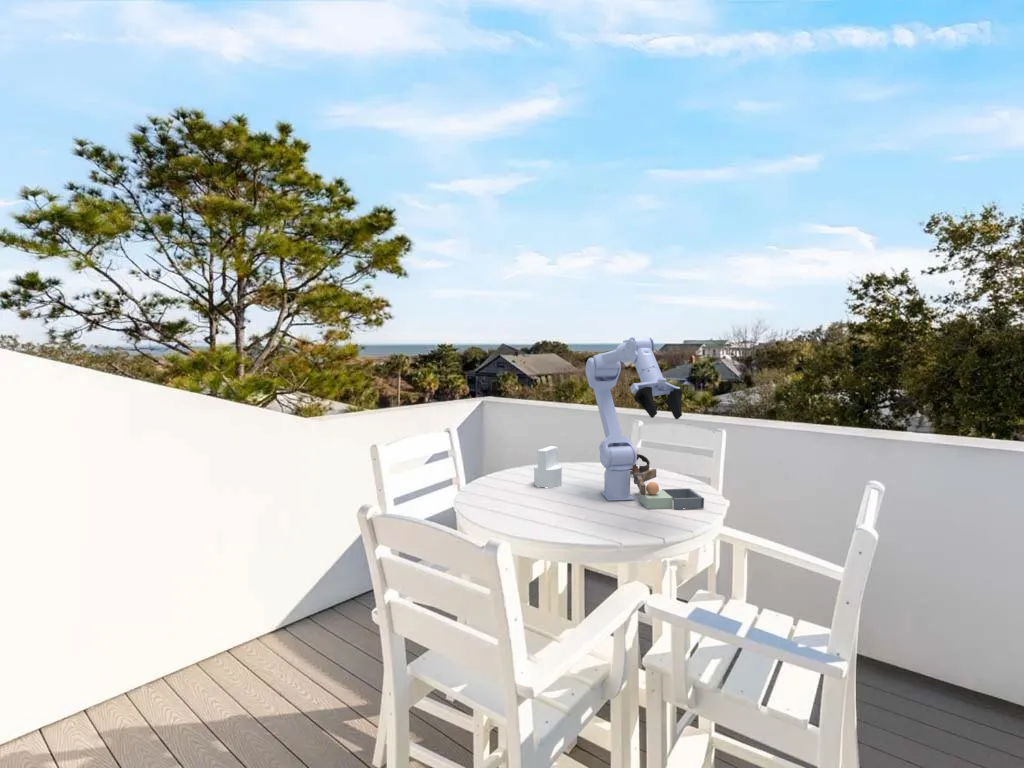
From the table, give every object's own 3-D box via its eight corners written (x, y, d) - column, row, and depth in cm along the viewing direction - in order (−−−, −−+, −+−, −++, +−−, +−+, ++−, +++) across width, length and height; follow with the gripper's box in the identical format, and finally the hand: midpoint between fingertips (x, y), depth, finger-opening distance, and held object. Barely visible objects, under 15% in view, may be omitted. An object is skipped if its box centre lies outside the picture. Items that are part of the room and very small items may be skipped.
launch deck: (639, 500, 175) (639, 490, 175) (663, 500, 176) (663, 490, 175) (647, 508, 167) (647, 498, 167) (672, 508, 168) (672, 497, 167)
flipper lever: (639, 475, 192) (639, 466, 192) (656, 476, 190) (656, 467, 190) (626, 493, 171) (626, 483, 171) (645, 495, 169) (645, 484, 169)
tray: (661, 499, 177) (662, 489, 177) (689, 498, 178) (689, 488, 177) (674, 509, 166) (674, 499, 166) (703, 508, 167) (703, 498, 167)
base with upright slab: (553, 489, 189) (553, 452, 188) (529, 485, 193) (529, 449, 192) (566, 483, 196) (566, 447, 195) (542, 480, 201) (542, 445, 200)
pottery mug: (643, 472, 214) (651, 454, 209) (644, 489, 206) (652, 472, 201) (611, 463, 214) (618, 446, 210) (611, 480, 206) (618, 462, 202)
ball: (644, 492, 173) (644, 480, 172) (656, 492, 173) (656, 480, 173) (648, 496, 169) (648, 483, 169) (660, 495, 169) (660, 483, 169)
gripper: (634, 362, 152) (650, 405, 144) (680, 366, 158) (698, 408, 150) (621, 378, 157) (636, 421, 149) (666, 382, 163) (683, 424, 155)
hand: (666, 416), depth 150 cm, fingers open, 7 cm apart
